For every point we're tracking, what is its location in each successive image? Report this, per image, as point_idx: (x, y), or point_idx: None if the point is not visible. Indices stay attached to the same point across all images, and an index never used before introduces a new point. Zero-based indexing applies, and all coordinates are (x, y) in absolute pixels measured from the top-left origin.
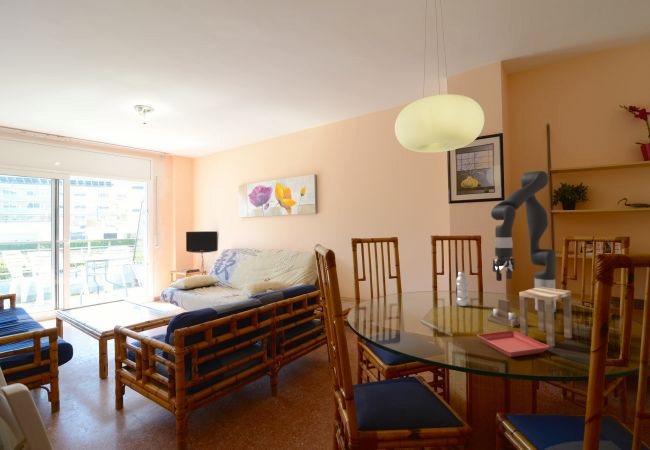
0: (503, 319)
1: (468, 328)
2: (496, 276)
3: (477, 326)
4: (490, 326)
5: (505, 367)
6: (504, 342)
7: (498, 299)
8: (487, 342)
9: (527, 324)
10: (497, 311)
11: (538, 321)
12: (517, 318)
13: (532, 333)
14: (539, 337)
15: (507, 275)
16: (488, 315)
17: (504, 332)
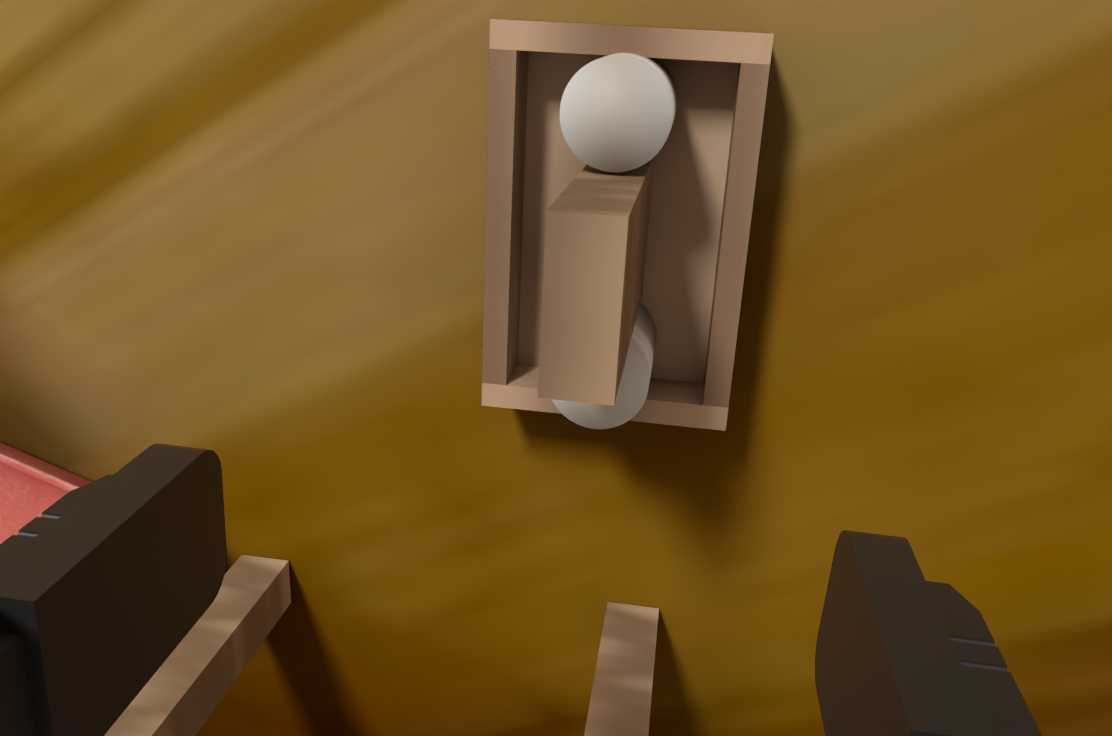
0: (488, 281)
1: (22, 26)
2: (12, 540)
3: (180, 60)
4: (317, 176)
5: None
6: None
7: (548, 213)
8: None
9: (219, 697)
10: (578, 151)
11: (597, 672)
12: (640, 410)
13: (467, 587)
14: (404, 662)
15: (857, 626)
16: (490, 35)
17: (65, 488)
